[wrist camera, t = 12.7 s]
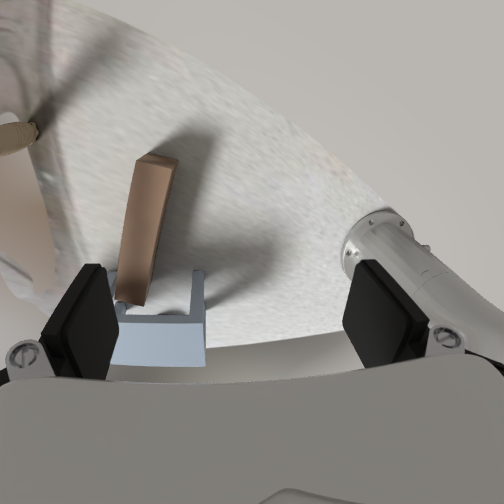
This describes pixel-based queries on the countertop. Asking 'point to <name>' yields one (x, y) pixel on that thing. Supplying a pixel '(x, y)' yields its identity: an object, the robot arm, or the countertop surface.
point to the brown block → (143, 226)
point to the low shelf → (162, 333)
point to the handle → (16, 136)
